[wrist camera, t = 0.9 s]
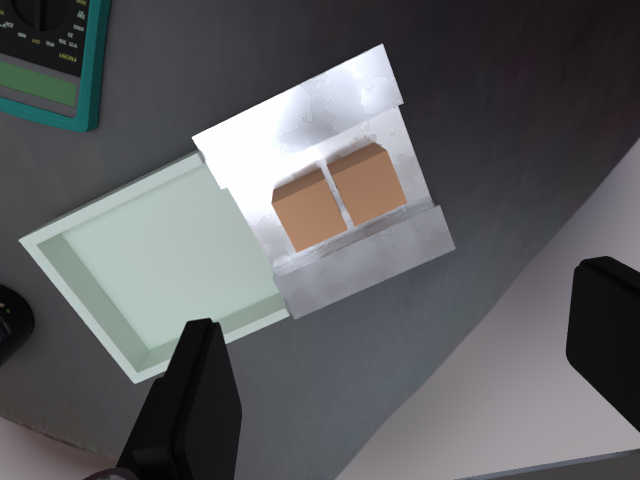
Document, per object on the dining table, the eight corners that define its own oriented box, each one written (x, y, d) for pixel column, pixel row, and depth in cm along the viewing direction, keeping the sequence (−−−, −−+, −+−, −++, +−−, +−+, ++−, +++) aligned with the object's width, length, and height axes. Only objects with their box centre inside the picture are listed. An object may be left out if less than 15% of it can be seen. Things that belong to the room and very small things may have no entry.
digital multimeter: (130, -92, 27) (112, -112, 24) (100, 133, 31) (82, 137, 28) (8, -139, 25) (-26, -166, 22) (-5, 102, 30) (-34, 104, 27)
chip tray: (209, 143, 32) (196, 152, 27) (289, 287, 37) (289, 315, 32) (55, 218, 33) (18, 240, 28) (152, 347, 38) (134, 384, 33)
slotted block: (370, 48, 30) (382, 43, 26) (437, 231, 36) (455, 249, 32) (203, 131, 31) (192, 137, 28) (294, 295, 37) (294, 319, 33)
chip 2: (374, 141, 31) (387, 150, 27) (393, 189, 32) (407, 202, 28) (326, 164, 31) (331, 175, 27) (346, 210, 32) (354, 226, 29)
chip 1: (320, 167, 31) (324, 179, 27) (341, 213, 32) (348, 229, 29) (272, 189, 31) (271, 204, 28) (295, 233, 33) (296, 253, 29)
